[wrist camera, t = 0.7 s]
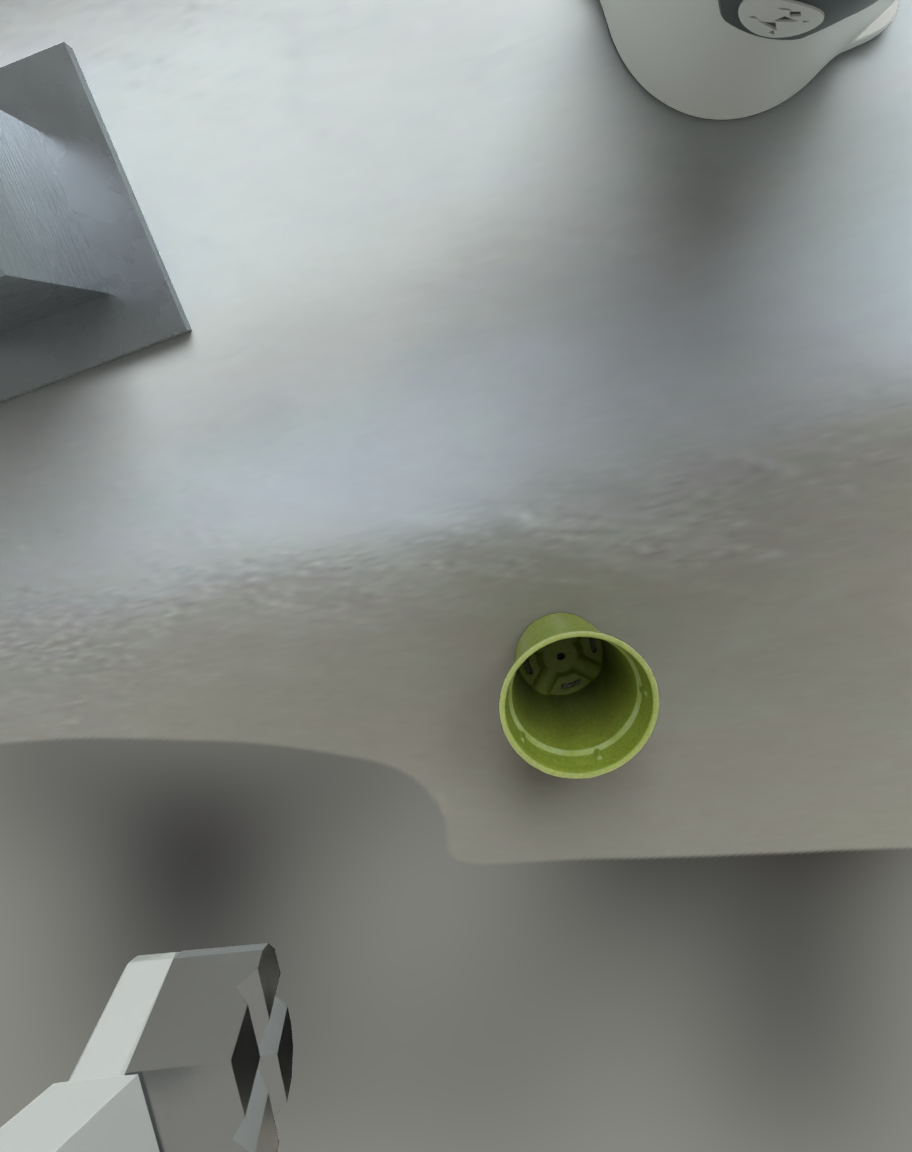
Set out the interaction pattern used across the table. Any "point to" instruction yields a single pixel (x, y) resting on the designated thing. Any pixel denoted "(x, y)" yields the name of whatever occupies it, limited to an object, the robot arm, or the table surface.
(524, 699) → the plant pot
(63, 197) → the sleeve
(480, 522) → the table surface
